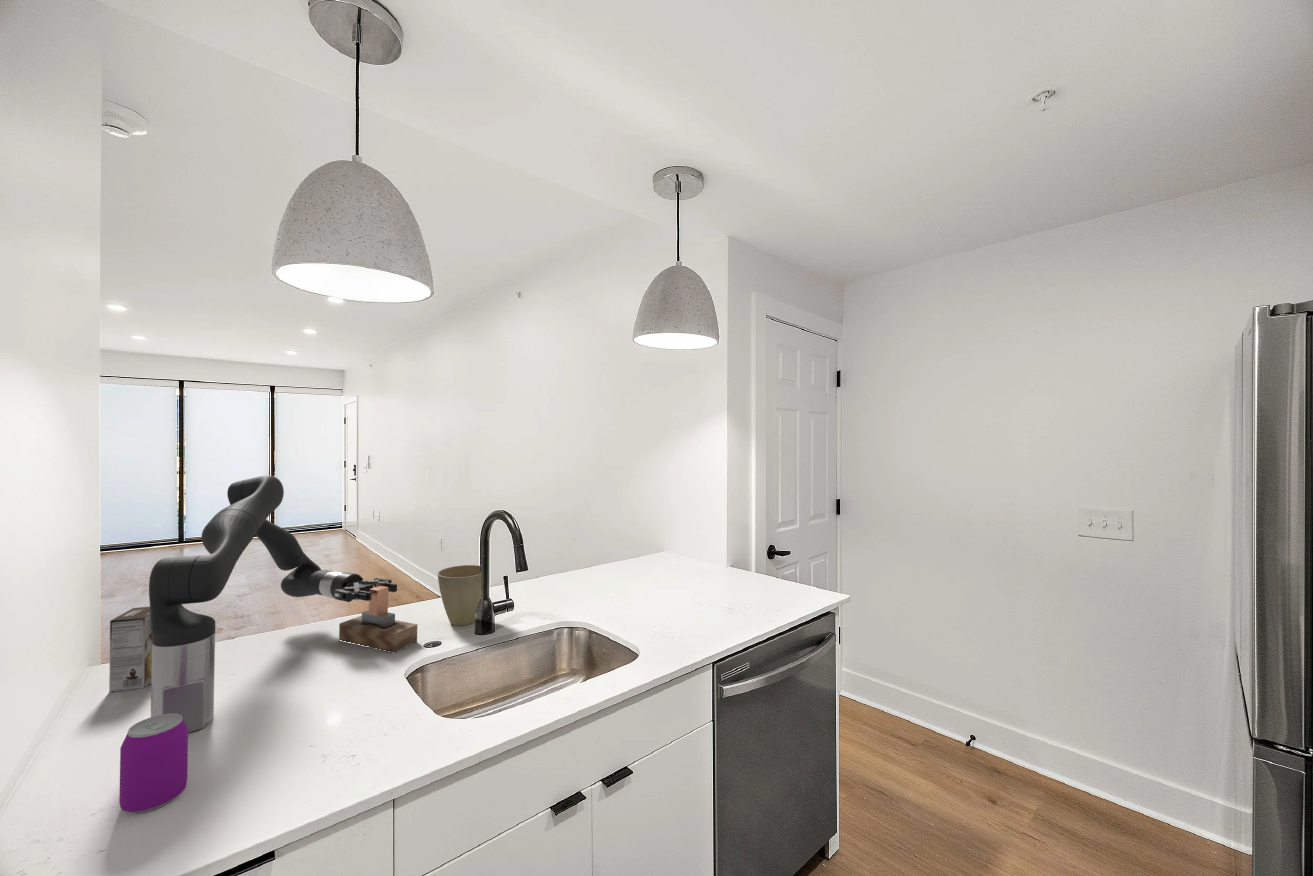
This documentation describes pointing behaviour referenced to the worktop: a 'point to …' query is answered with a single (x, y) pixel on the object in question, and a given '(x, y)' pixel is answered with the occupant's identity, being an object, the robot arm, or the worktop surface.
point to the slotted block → (378, 634)
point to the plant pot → (460, 592)
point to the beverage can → (153, 763)
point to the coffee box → (130, 650)
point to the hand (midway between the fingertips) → (383, 592)
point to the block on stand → (378, 609)
